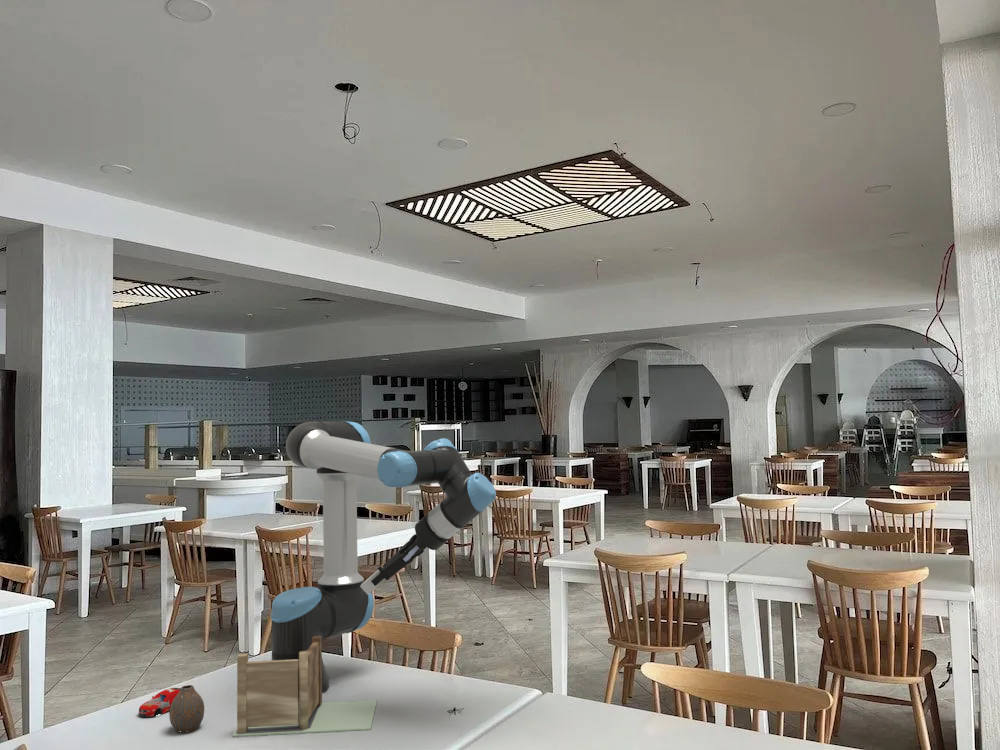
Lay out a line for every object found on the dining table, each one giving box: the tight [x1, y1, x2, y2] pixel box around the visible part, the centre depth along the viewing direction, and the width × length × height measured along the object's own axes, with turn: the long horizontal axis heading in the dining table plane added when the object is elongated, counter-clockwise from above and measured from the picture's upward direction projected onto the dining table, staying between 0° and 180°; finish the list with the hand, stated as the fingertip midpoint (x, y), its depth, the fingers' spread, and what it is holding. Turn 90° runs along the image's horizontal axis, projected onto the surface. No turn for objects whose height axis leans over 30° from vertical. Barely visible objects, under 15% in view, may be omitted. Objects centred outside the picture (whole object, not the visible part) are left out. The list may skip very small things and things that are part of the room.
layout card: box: [232, 699, 378, 738], centre depth 170 cm, size 17×28×1 cm, turn 95°
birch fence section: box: [236, 651, 308, 733], centre depth 164 cm, size 2×14×16 cm, turn 94°
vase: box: [168, 684, 205, 733], centre depth 166 cm, size 7×7×9 cm
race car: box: [138, 687, 181, 718], centre depth 179 cm, size 13×5×4 cm, turn 152°
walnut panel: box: [307, 636, 323, 720], centre depth 172 cm, size 13×2×15 cm, turn 1°
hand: (364, 589), depth 181 cm, fingers closed
